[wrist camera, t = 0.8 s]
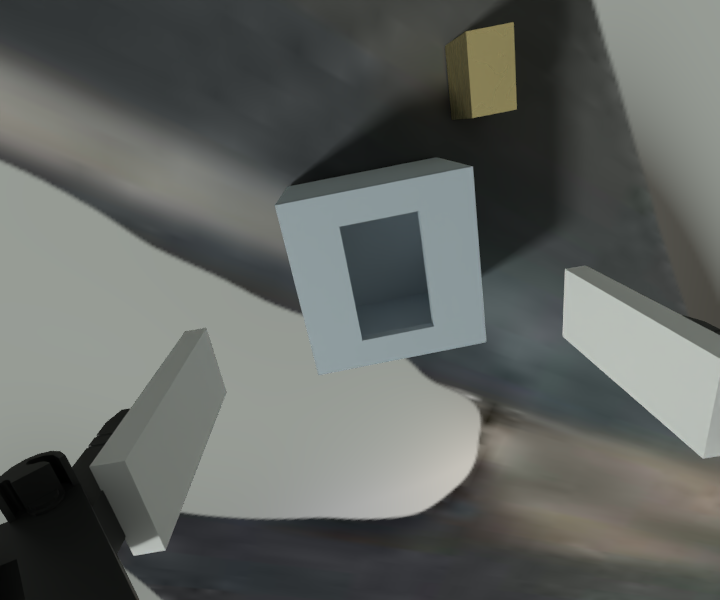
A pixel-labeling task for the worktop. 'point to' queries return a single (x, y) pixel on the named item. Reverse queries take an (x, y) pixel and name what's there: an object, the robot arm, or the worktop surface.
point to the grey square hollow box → (386, 262)
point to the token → (482, 72)
